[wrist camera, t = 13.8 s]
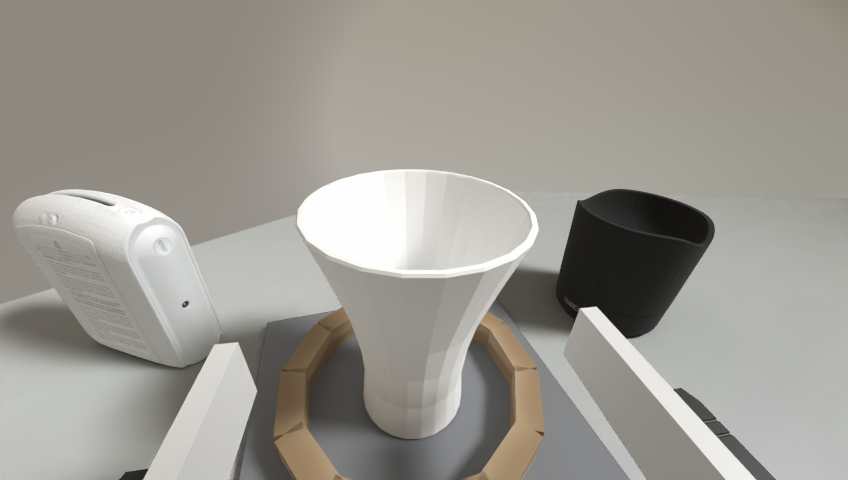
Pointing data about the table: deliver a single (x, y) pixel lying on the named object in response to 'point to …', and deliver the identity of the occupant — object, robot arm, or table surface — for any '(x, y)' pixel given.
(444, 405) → the cup
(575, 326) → the robot arm
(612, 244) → the pen holder
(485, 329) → the collar ring
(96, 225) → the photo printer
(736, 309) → the table surface
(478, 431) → the collar mat
